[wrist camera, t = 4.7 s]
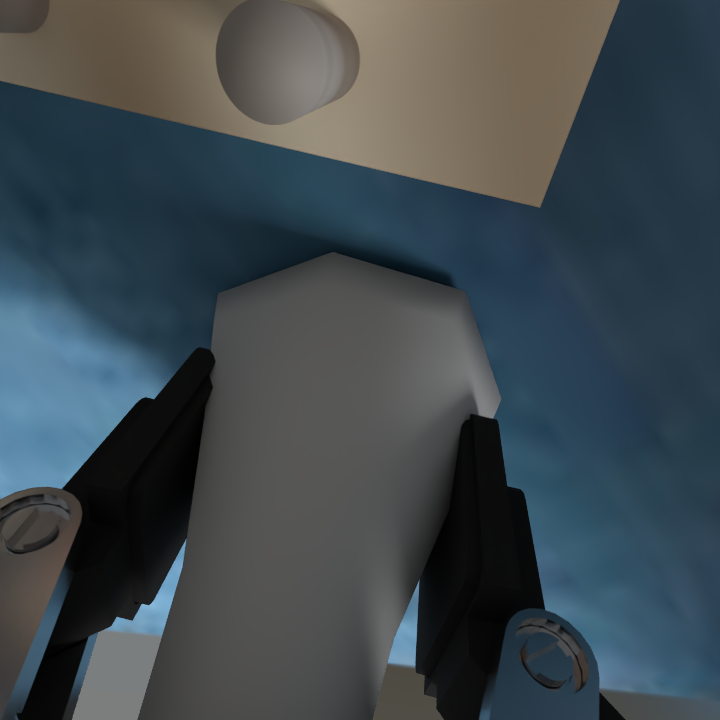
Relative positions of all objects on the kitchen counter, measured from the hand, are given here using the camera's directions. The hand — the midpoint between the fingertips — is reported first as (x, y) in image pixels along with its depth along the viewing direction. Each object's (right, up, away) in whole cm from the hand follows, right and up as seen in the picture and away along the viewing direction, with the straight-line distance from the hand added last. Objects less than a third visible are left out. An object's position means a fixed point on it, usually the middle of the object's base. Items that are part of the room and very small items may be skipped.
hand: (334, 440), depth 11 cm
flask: (0, +1, +2) cm, 2 cm away
